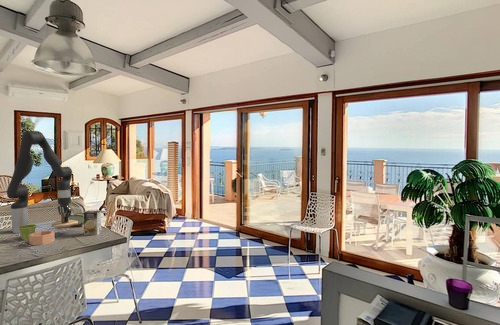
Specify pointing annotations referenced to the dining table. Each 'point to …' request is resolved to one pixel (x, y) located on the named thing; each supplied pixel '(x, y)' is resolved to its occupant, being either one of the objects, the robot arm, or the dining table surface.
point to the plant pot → (27, 231)
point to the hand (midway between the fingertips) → (64, 221)
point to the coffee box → (92, 222)
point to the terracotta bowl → (41, 237)
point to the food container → (77, 219)
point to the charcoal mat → (67, 234)
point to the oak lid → (64, 224)
